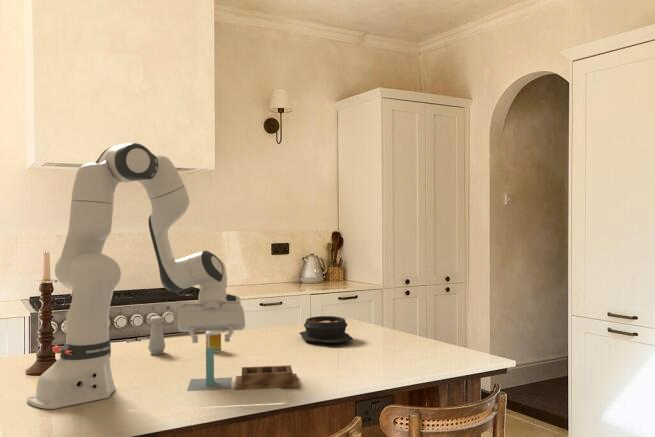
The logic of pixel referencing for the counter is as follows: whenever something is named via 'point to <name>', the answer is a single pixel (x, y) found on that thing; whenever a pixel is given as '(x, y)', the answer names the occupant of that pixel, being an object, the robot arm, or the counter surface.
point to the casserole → (326, 330)
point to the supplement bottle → (213, 340)
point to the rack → (267, 378)
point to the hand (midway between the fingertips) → (211, 341)
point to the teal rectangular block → (209, 366)
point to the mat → (201, 385)
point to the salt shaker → (156, 336)
